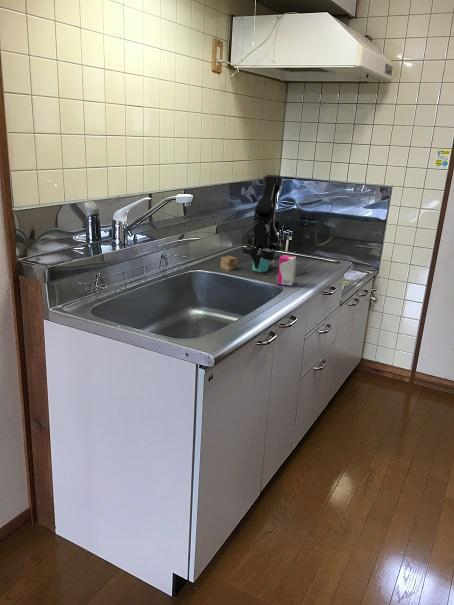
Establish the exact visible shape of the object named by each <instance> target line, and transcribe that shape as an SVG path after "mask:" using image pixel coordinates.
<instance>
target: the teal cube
mask: <svg viewBox="0 0 454 605" xmlns="http://www.w3.org/2000/svg"><path fill="white" fill-rule="evenodd" d="M269 265H270V260H268V259H264V258H260V262H259V265H258V268H257V269H256V268H255V266H254V262H253V261H252V271H255V272H258V273H264V272H267V271H269V267H270V266H269Z"/></svg>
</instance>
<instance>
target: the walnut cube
mask: <svg viewBox="0 0 454 605" xmlns="http://www.w3.org/2000/svg"><path fill="white" fill-rule="evenodd" d="M237 264H238V258H237V257H235V256H231V255H226V256H221V257H220V269H222V270H225V269H226V270H225V271H233V270H237Z"/></svg>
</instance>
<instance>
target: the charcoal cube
mask: <svg viewBox="0 0 454 605" xmlns="http://www.w3.org/2000/svg"><path fill="white" fill-rule="evenodd" d="M304 272H305V262H303V261H298V260H296V265H295V276H299V275H303V274H304Z"/></svg>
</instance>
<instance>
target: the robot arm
mask: <svg viewBox="0 0 454 605" xmlns="http://www.w3.org/2000/svg"><path fill="white" fill-rule="evenodd" d="M262 180H263V182H262V184H263V186H264V187H263V188H264V189H263V194H262V196H261V198H260V199H259V200H258V202H257V205H255V210H254V215H253V221H256V223H255V225H254V226H253V228H252V231H253V237H252V238H251V237H250V236H245V237H243V244H244V245H245V246H243V247H242V254H246V255H248V256H249V255H250V257H251V258H252V263H253V262H254V266H255V268H256V269H257V268H258V265H259V262H260V258H264V259H268V260H269V261H270V260H275V259H277V257H275V254H276V252H279V251H280V250H281V245H280V242H279V241H280V238H279V236H278V234H277V233H278V232H277V228H276V226H275V218H276V207H277V195H278V194H279V192H280V190H281V187H282V186H283V182H284V181H283V180H284V179H283V177H281V175H277V174H266V176H263V179H262Z"/></svg>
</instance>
